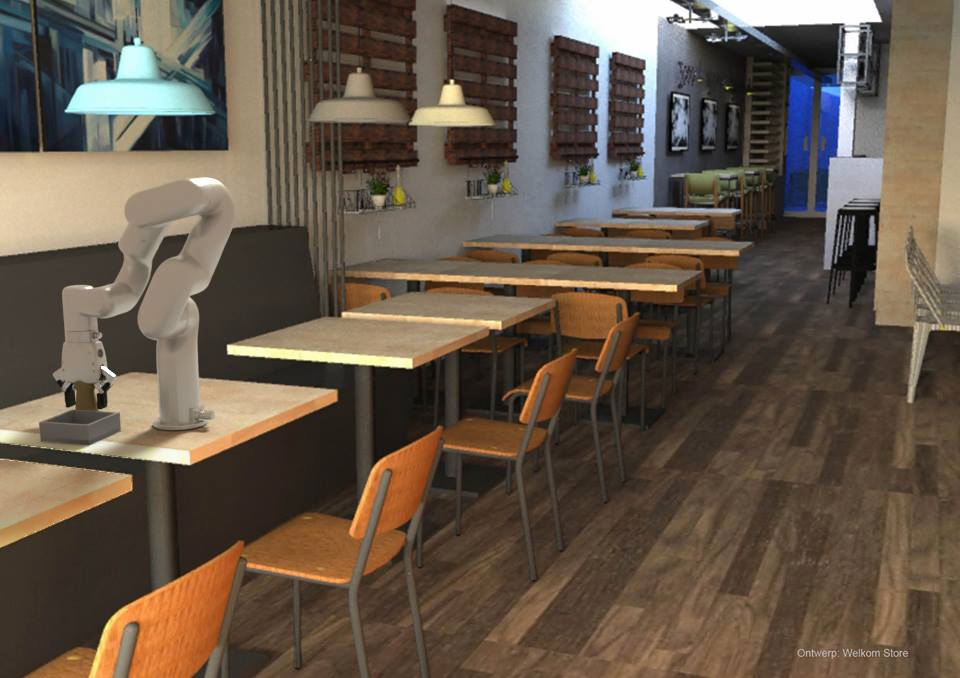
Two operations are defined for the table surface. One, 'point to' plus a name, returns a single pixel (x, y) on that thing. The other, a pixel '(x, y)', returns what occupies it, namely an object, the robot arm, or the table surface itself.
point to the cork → (85, 396)
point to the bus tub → (80, 427)
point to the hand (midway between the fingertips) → (86, 407)
